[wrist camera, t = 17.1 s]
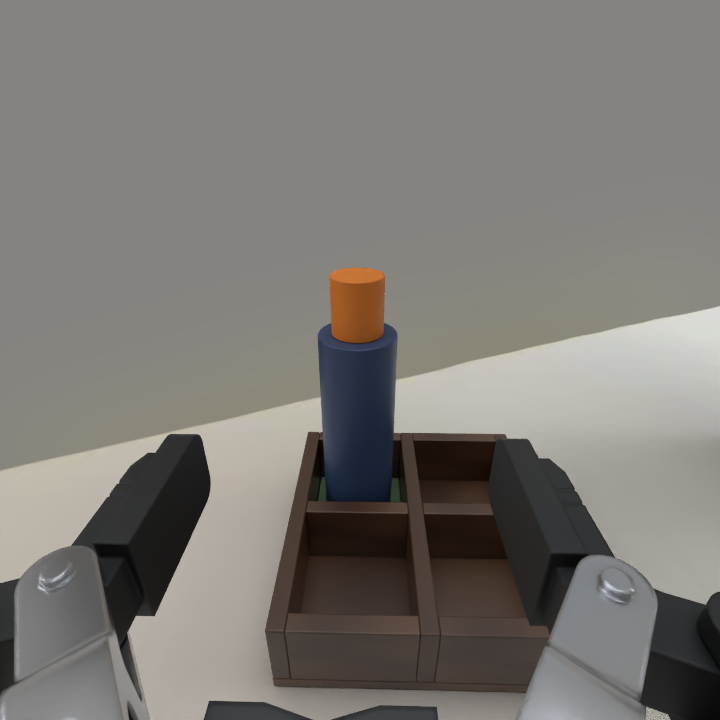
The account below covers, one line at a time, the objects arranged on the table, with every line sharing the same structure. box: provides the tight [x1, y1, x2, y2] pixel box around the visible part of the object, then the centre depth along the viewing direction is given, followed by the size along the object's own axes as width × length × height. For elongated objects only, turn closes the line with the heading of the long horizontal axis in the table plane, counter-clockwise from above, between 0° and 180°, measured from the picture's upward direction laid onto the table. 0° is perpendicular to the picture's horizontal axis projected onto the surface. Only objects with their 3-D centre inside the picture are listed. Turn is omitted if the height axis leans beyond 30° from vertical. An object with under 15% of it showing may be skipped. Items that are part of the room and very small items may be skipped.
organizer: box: [265, 432, 550, 692], centre depth 24 cm, size 13×13×4 cm
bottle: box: [318, 268, 397, 502], centre depth 23 cm, size 4×4×15 cm
